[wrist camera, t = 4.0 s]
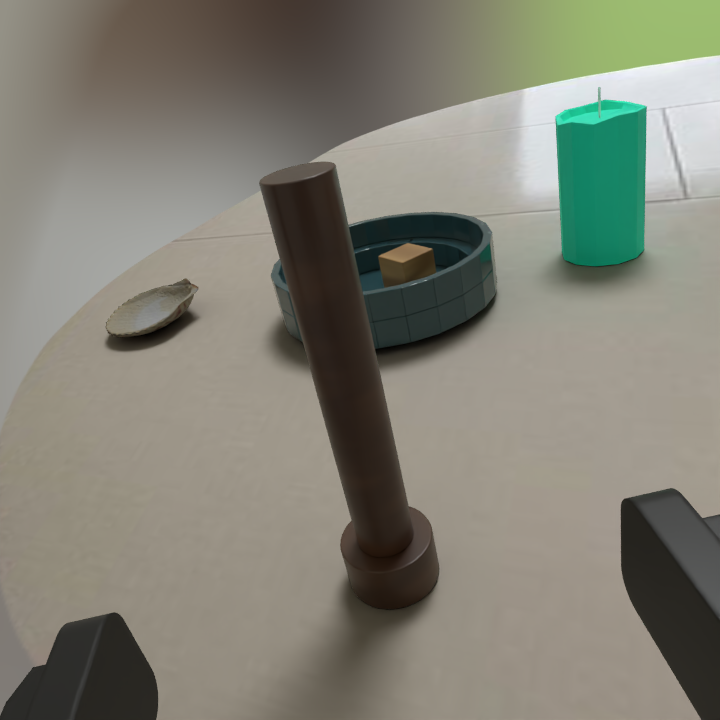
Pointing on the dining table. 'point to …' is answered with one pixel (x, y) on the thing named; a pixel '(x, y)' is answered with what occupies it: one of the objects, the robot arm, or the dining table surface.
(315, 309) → the muddler
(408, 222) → the bowl
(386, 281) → the block
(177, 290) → the seashell
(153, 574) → the dining table surface
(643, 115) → the candle
